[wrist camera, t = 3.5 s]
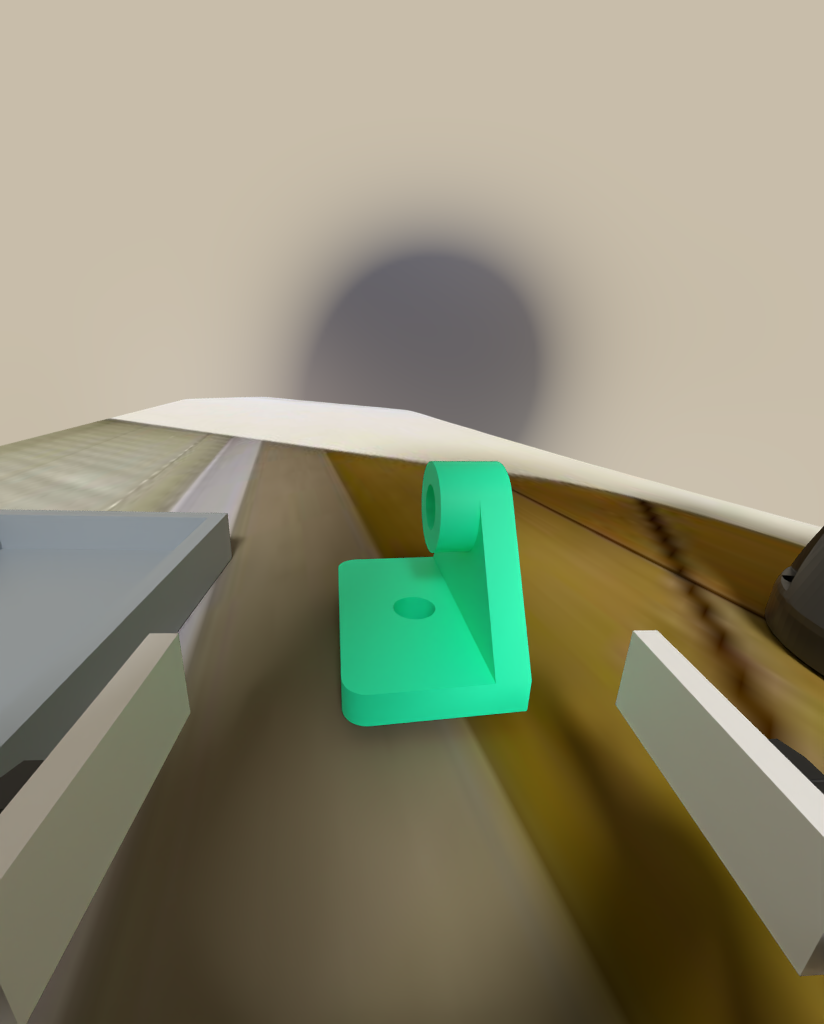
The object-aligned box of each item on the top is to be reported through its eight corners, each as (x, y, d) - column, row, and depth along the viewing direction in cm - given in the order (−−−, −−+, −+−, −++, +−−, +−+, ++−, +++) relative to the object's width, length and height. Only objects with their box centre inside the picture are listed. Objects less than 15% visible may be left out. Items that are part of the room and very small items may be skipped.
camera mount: (338, 596, 29) (336, 438, 25) (453, 591, 30) (465, 439, 27) (342, 750, 18) (339, 504, 14) (523, 731, 19) (559, 501, 16)
